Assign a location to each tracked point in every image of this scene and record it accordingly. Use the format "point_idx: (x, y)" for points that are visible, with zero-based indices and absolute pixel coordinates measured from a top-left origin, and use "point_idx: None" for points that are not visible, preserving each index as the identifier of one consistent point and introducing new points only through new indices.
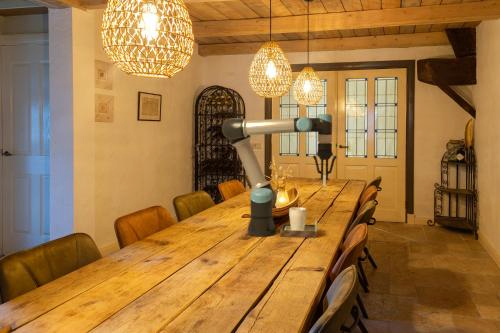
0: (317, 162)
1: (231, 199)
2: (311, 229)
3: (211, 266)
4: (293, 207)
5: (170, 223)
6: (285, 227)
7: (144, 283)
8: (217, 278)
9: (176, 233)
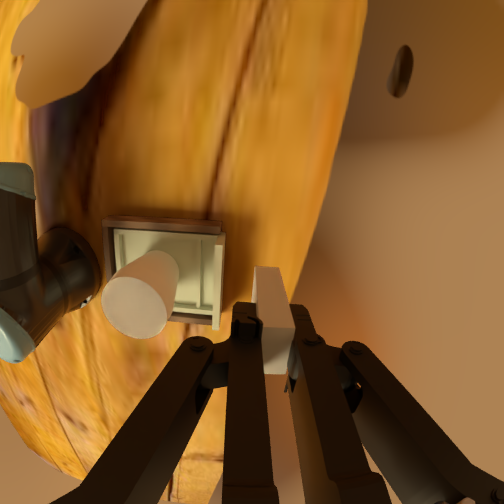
0: (160, 491)
1: None
2: (205, 244)
3: (88, 435)
4: (110, 280)
5: None
6: (116, 255)
7: (66, 451)
8: None
9: None
